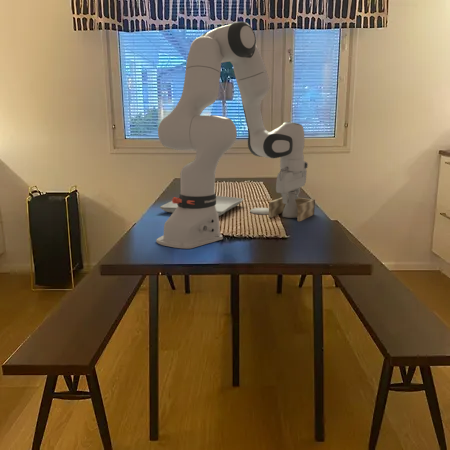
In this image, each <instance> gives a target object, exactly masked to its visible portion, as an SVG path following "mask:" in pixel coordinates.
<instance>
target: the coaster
mask: <svg viewBox="0 0 450 450" xmlns="http://www.w3.org/2000/svg"><path fill="white" fill-rule="evenodd" d="M249 211H250V213H251V214H254V215H269V207H255V208H251V209H250V210H249Z"/></svg>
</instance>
